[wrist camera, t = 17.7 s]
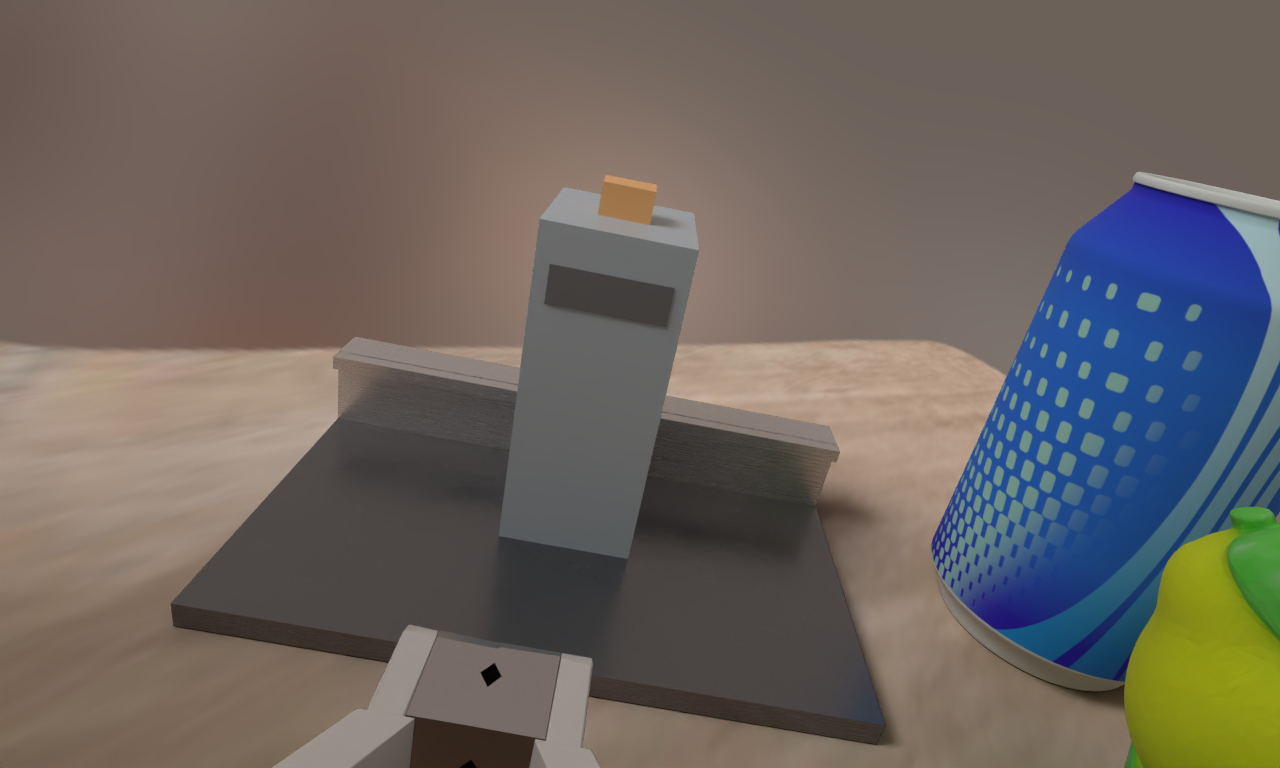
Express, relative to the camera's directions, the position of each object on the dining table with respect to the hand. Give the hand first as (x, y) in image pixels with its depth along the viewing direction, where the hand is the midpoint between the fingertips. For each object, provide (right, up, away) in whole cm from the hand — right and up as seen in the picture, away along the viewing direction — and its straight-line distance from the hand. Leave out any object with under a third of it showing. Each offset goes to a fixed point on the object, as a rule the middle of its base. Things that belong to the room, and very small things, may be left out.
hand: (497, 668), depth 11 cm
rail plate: (0, -1, +15) cm, 15 cm away
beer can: (+17, -4, +16) cm, 24 cm away
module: (0, 0, +15) cm, 15 cm away
